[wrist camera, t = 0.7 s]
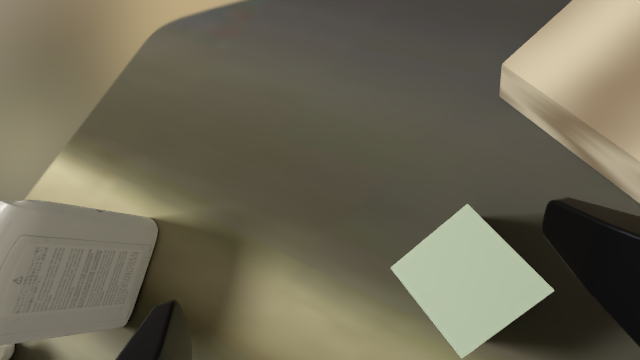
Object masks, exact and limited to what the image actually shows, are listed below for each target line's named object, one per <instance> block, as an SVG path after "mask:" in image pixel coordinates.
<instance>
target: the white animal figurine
mask: <svg viewBox="0 0 640 360" xmlns="http://www.w3.org/2000/svg"><path fill="white" fill-rule="evenodd" d="M14 351H15V344H10V345H3V346H0V360H9V359H10V357H11V356H12V355H13V353H14Z"/></svg>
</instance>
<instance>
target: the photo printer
mask: <svg viewBox="0 0 640 360" xmlns="http://www.w3.org/2000/svg"><path fill="white" fill-rule="evenodd" d="M157 234H158V228H157V225H156V223H155V222H154V221H153V220H152V219H150V218H148V217H142V216H136V215H130V214H124V213H118V212H112V211H105V210H98V209H92V208H86V207H80V206H74V205H68V204H61V203H55V202H48V201H41V200H22V201H9V200H4V201H1V202H0V346H3V345H10V344H16V343H23V342H29V341H35V340H42V339H48V338H55V337H61V336H68V335H74V334H81V333H87V332H94V331H101V330H107V329H114V328H120V327H123V326H125V325H126V324H127V322H128V320H129V318H130V316H131V313H132V311H133V308H134V305H135V302H136V299H137V296H138V293H139V290H140V288H141V285H142V282H143V279H144V276H145V273H146V270H147V267H148V264H149V261H150V258H151V255H152V252H153V249H154V246H155V242H156V239H157Z"/></svg>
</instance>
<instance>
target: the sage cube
mask: <svg viewBox="0 0 640 360" xmlns="http://www.w3.org/2000/svg"><path fill="white" fill-rule="evenodd" d="M391 269H392V271H393V272H394V273H395V275H396V276H397V277H398V278H399V280H400V281H401V282H402V283H403V285H404V286H405V287H406V289H407V290H408V291H409V292H410V294H411V295H412V296H413V298H414V299H415V300H416V301H417V303H418V304H419V305H420V306H421V308H422V309H423V310H424V312H425V313H426V314H427V315H428V317H429V318H430V319H431V320H432V322H433V323H434V324H435V326H436V327H437V328H438V329H439V331H440V332H441V333H442V334H443V336H444V337H445V338H446V340H447V341H448V342H449V343H450V345H451V346H452V347H453V348H454V350H455V351H456V352H457V354H458V355H459V356H460V357H461V359H462V358H464V357H465V356H466V355H468V354H469V353H470V352H472V351H473V350H474V349H476V348H477V347H479V346H480V345H481V344H483V343H484V342H485V341H487V340H488V339H489V338H491V337H492V336H494V335H495V334H496V333H498V332H499V331H500V330H502V329H503V328H504V327H506V326H507V325H509V324H510V323H511V322H513V321H514V320H515V319H517V318H518V317H519V316H521V315H522V314H524V313H525V312H526V311H528V310H529V309H530V308H532V307H533V306H534V305H536V304H537V303H539V302H540V301H541V300H543V299H544V298H545V297H547V296H548V295H549V294H551V293H552V292H554V291H555V290H554V289H553V288H552V287H551V286H550V285H549V284H548V283H547V282H546V281H545V280H544V279H543V278H542V277H541V276H540V275H539V274H538V273H537V272H536V271H535V270H534V269H533V268H532V267H531V266H530V265H529V264H528V263H527V262H526V261H525V260H524V259H522V258H521V257H520V256H519V255H518V254H517V253H516V252H515V251H514V250H513V249H512V248H511V247H510V246H509V245H508V244H507V243H506V242H505V241H504V240H503V239H502V238H501V237H500V236H499V235H498V234H497V233H496V232H495V231H494V230H493V229H492V228H491V227H490V226H489V225H488V224H487V223H486V222H485V221H484V220H483V219H482V218H481V217H480V216H479V215H478V214H477V213H476V212H475V211H474V210H473V209H472V208H471V207H470V206H469V205H468V204H467V205H465V206H464V207H463V208H462V209H461V210H459V211H458V212H457V213H456V214H455V215H453V216H452V217H451V218H450V219H449V220H447V221H446V222H445V223H444V224H443V225H441V226H440V227H439V228H438V229H437V230H435V231H434V232H433V233H432V234H431V235H429V236H428V237H427V238H426V239H425V240H423V241H422V242H421V243H420V244H419V245H417V246H416V247H415V248H414V249H413V250H411V251H410V252H409V253H408V254H407V255H405V256H404V257H403V258H402V259H401V260H399V261H398V262H397V263H396V264H395V265H393V266H392V267H391Z"/></svg>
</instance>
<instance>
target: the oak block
mask: <svg viewBox="0 0 640 360" xmlns="http://www.w3.org/2000/svg"><path fill="white" fill-rule="evenodd" d="M499 97H501V98H502V99H503V100H505V101H506V102H507V103H509V104H510V105H511V106H513V107H514V108H515V109H517V110H518V111H519V112H520V113H522V114H523V115H524V116H526V117H527V118H528V119H530V120H531V121H532V122H534V123H535V124H536V125H538V126H539V127H540V128H541V129H543V130H544V131H545V132H547V133H548V134H549V135H551V136H552V137H553V138H555V139H556V140H557V141H558V142H560V143H561V144H562V145H564V146H565V147H566V148H568V149H569V150H570V151H572V152H573V153H574V154H576V155H577V156H578V157H579V158H581V159H582V160H583V161H585V162H586V163H587V164H589V165H590V166H591V167H593V168H594V169H595V170H597V171H598V172H599V173H600V174H602V175H603V176H604V177H606V178H607V179H608V180H610V181H611V182H612V183H614V184H615V185H616V186H618V187H619V188H620V189H621V190H623V191H624V192H625V193H627V194H628V195H629V196H631V197H632V198H633V199H635V200H636V201H637V202H638V203H640V0H572V1H571V2H570V3H569V4H568V5H567V6H566V7H565V8H564V9H563V10H561V11H560V12H559V13H558V14H557V15H556V16H555V17H554V18H553V19H551V20H550V21H549V22H548V23H547V24H546V25H545V26H544V27H543V28H542V29H540V30H539V31H538V32H537V33H536V34H535V35H534V36H533V37H532V38H530V39H529V40H528V41H527V42H526V43H525V44H524V45H523V46H522V47H520V48H519V49H518V50H517V51H516V52H515V53H514V54H513V55H512V56H511V57H509V58H508V59H507V60H506V61H505V62H504V63H503V64H502V71H501V84H500V96H499Z"/></svg>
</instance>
